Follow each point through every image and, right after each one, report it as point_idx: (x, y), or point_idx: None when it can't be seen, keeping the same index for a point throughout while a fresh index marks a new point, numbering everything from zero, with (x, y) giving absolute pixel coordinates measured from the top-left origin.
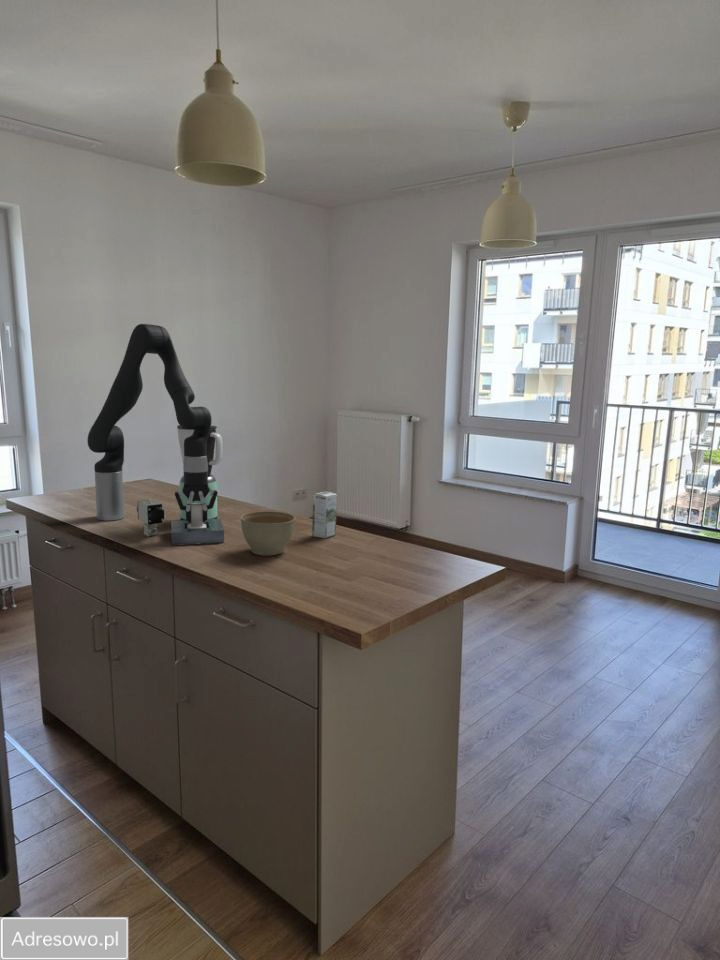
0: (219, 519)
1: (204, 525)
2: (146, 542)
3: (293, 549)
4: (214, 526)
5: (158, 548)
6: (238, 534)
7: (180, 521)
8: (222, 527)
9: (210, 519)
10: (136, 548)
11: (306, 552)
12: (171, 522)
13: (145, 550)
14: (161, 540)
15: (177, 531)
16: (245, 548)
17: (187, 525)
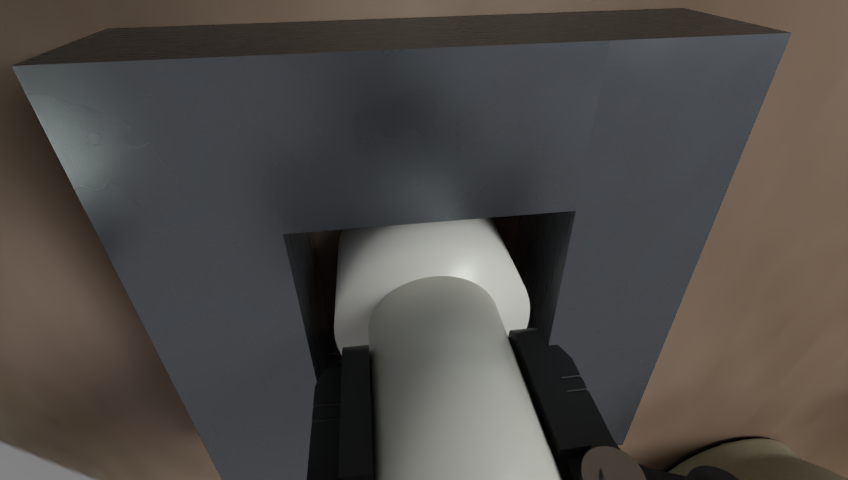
0: (759, 80)
1: (508, 329)
2: (17, 349)
3: (829, 452)
4: (588, 364)
5: (181, 449)
6: (759, 194)
7: (201, 136)
8: (640, 388)
9: (647, 61)
10: (26, 451)
11: (843, 476)
12: (76, 181)
13: (113, 475)
14: (125, 308)
15: (273, 473)
16: (650, 444)
17: (334, 322)
